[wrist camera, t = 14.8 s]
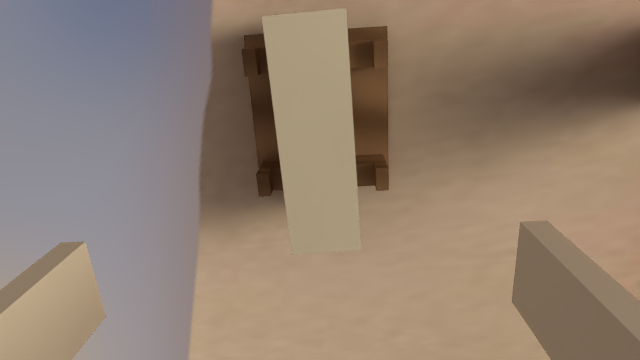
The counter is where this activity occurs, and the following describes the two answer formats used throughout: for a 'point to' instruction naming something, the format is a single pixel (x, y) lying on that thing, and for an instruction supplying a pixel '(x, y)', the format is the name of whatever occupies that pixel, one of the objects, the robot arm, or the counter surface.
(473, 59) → the counter surface
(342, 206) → the clay bar
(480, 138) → the counter surface
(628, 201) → the counter surface
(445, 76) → the counter surface
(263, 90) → the brown wooden frame
